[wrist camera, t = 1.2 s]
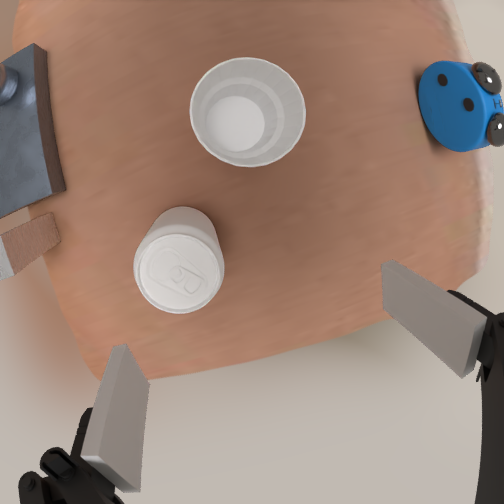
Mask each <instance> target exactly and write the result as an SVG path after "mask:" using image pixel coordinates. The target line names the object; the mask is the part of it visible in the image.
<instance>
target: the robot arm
mask: <svg viewBox="0 0 504 504" xmlns="http://www.w3.org/2000/svg"><path fill="white" fill-rule="evenodd" d="M381 271H382V290H383V309H384V310H385V311H386V312H387V313H388V314H390V315H391V316H392V317H393V318H394V319H395V320H397V321H398V322H399V323H400V324H401V325H402V326H403V327H405V328H406V329H407V330H408V331H409V332H410V333H412V334H413V335H414V336H415V337H416V338H417V339H418V340H419V341H421V342H422V343H423V344H424V345H425V346H426V347H427V348H428V349H430V350H431V351H432V352H433V353H434V354H435V355H436V356H437V357H438V358H440V359H441V360H442V361H443V362H444V363H445V364H446V365H447V366H448V367H450V368H451V369H452V370H453V371H454V372H455V373H456V374H457V375H458V376H459V377H460V378H461V379H462V378H463V377H465V376H466V375H468V374H469V373H470V372H472V371H473V370H474V367H475V363H476V360H478V361H480V362H481V366H480V369H479V372H478V375H477V378H476V382H478V381H479V378H480V376H481V391H482V445H481V461H480V470H479V479H478V486H477V493H476V499H475V504H504V312H503V313H499V314H497V315H494V314H493V313H492V312H490V311H488V310H487V309H485V308H484V307H482V306H480V305H479V304H477V303H476V302H473V300H471V299H469V298H467V297H466V296H464V295H463V294H461V293H459V292H456V291H452V290H448V291H445V290H444V289H442V288H440V287H439V286H437V285H435V284H434V283H432V282H430V281H429V280H427V279H425V278H424V277H422V276H420V275H419V274H417V273H415V272H414V271H412V270H410V269H408V268H407V267H405V266H403V265H401V264H400V263H398V262H396V261H394V260H390V261H388V262H385V263H382V264H381ZM149 386H150V384H149V382H148V380H147V379H146V377H145V375H144V374H143V372H142V370H141V369H140V367H139V365H138V364H137V362H136V360H135V358H134V357H133V355H132V353H131V351H130V349H129V348H128V346H127V344H123V345H118V346H114V347H113V349H112V351H111V354H110V357H109V360H108V363H107V366H106V369H105V372H104V375H103V378H102V381H101V384H100V387H99V390H98V394H97V397H96V400H95V403H94V407H93V408H87V409H86V411H85V412H84V414H83V415H82V417H81V419H80V423H79V428H78V429H77V435H76V436H75V440H74V444H73V447H72V451H71V455H70V456H69V455H68V454H67V453H66V452H65V451H64V450H63V449H62V448H59V447H55V448H51V449H49V450H47V451H46V452H45V453H44V454H43V456H42V457H41V460H40V469H41V470H42V471H44V472H45V473H46V474H47V475H48V477H44V478H42V477H40V476H39V475H38V474H37V473H36V472H33V471H30V472H27V473H25V474H24V475H23V476H22V477H21V478H20V480H19V485H18V488H19V497H20V504H124V503H123V501H122V500H121V499H120V498H119V497H118V496H117V495H116V494H115V493H114V492H115V486H116V487H117V488H118V489H119V490H121V491H122V492H140V486H141V467H142V453H143V440H144V429H145V419H146V411H147V410H146V409H147V401H148V393H149Z"/></svg>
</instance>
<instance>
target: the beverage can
mask: <svg viewBox="0 0 504 504" xmlns="http://www.w3.org/2000/svg"><path fill="white" fill-rule="evenodd" d="M133 269H134V276H135V280H136V283H137V285H138V287H139V289H140V291H141V293H142V294H143V296H144V297H145V298H146V299H147V300H148V301H149V302H150V303H151V304H152V305H154V306H155V307H157V308H158V309H160V310H163V311H166V312H169V313H176V314H183V313H189V312H193V311H196V310H198V309H200V308H202V307H203V306H205V305H206V304H207V303H208V302H209V301H210V300H211V299H212V298H213V297H214V296H215V294H216V293H217V292H218V290H219V288H220V286H221V284H222V281H223V278H224V259H223V255H222V252H221V248H220V245H219V241H218V238H217V234H216V231H215V228H214V226H213V224H212V222H211V221H210V219H209V218H208V217H207V216H206V215H205V214H204V213H202V212H201V211H199V210H197V209H194V208H191V207H184V206H181V207H174V208H171V209H169V210H167V211H165V212H163V213H162V214H161V215H160V216H159V217H158V218H157V219H156V220H155V222H154V223H153V225H152V226H151V228H150V229H149V231H148V232H147V234H146V235H145V237H144V238H143V240H142V242H141V243H140V245H139V247H138V249H137V251H136V254H135V257H134V265H133Z"/></svg>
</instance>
